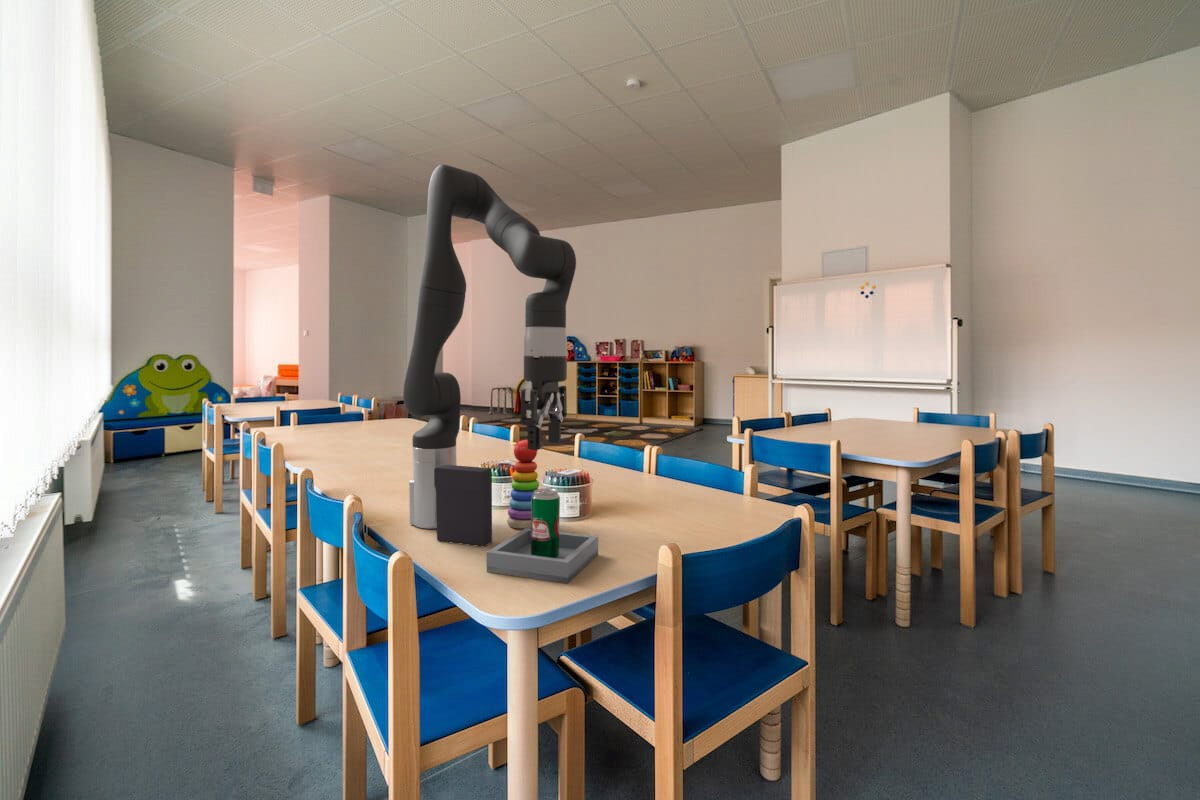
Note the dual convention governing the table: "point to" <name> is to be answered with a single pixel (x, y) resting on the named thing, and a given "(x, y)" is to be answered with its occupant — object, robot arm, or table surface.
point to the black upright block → (464, 504)
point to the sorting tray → (563, 568)
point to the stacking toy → (522, 486)
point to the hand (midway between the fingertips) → (544, 446)
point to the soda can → (545, 523)
